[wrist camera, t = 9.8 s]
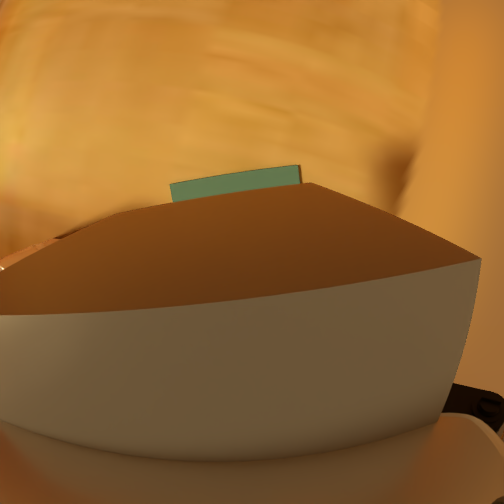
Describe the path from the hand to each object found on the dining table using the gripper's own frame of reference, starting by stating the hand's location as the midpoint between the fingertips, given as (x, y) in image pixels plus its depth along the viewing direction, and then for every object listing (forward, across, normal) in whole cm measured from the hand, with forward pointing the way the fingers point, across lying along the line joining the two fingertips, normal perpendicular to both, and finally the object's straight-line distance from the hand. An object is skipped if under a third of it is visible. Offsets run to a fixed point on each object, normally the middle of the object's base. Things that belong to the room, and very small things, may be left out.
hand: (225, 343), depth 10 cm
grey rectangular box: (+2, 0, 0) cm, 2 cm away
